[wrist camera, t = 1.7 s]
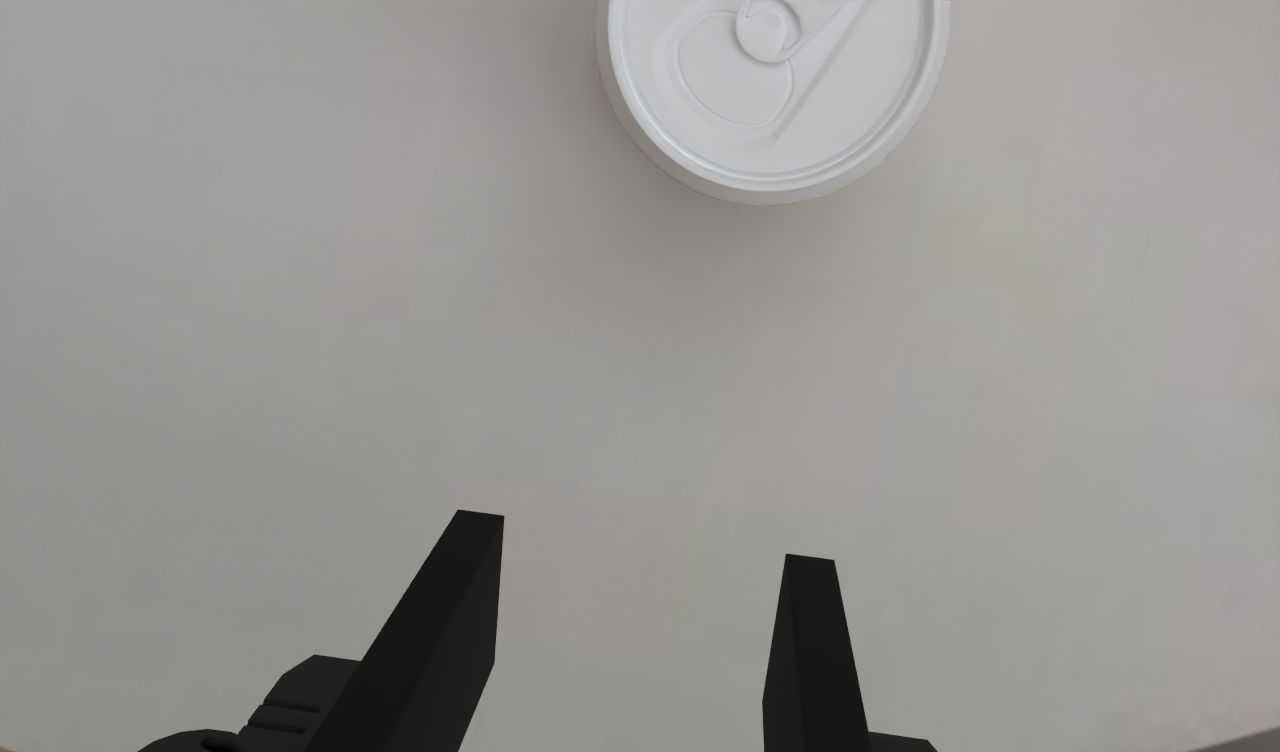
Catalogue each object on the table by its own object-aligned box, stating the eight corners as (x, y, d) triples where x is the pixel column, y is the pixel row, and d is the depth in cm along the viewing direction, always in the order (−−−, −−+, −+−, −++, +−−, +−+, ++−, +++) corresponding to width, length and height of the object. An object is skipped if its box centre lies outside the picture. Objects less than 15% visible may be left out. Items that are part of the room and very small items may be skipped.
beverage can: (587, 59, 34) (510, 53, 22) (747, -152, 31) (753, -279, 20) (770, 215, 35) (786, 286, 23) (938, 22, 32) (1048, -5, 21)
